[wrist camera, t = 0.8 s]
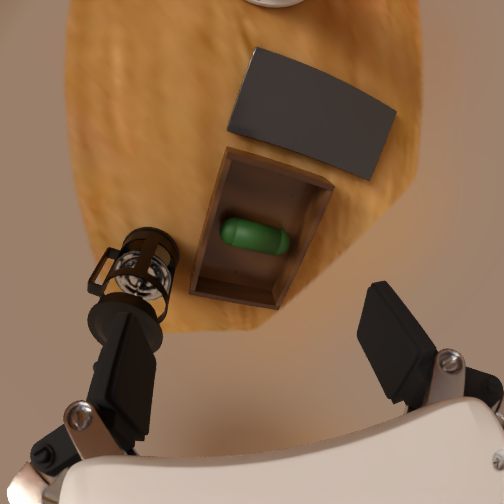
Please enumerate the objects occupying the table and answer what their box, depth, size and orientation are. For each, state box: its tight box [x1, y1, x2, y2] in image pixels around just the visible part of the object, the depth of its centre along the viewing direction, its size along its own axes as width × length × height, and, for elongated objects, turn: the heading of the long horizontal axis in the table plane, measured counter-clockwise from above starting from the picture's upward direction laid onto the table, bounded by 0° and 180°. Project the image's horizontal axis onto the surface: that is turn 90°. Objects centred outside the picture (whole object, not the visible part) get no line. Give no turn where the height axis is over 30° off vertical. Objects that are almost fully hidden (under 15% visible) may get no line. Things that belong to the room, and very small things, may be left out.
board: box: [227, 47, 397, 181], centre depth 33 cm, size 12×22×2 cm, turn 72°
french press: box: [87, 227, 179, 371], centre depth 32 cm, size 12×9×23 cm
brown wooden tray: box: [189, 147, 335, 310], centre depth 40 cm, size 22×15×4 cm
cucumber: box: [219, 217, 290, 256], centre depth 39 cm, size 4×10×4 cm, turn 72°
